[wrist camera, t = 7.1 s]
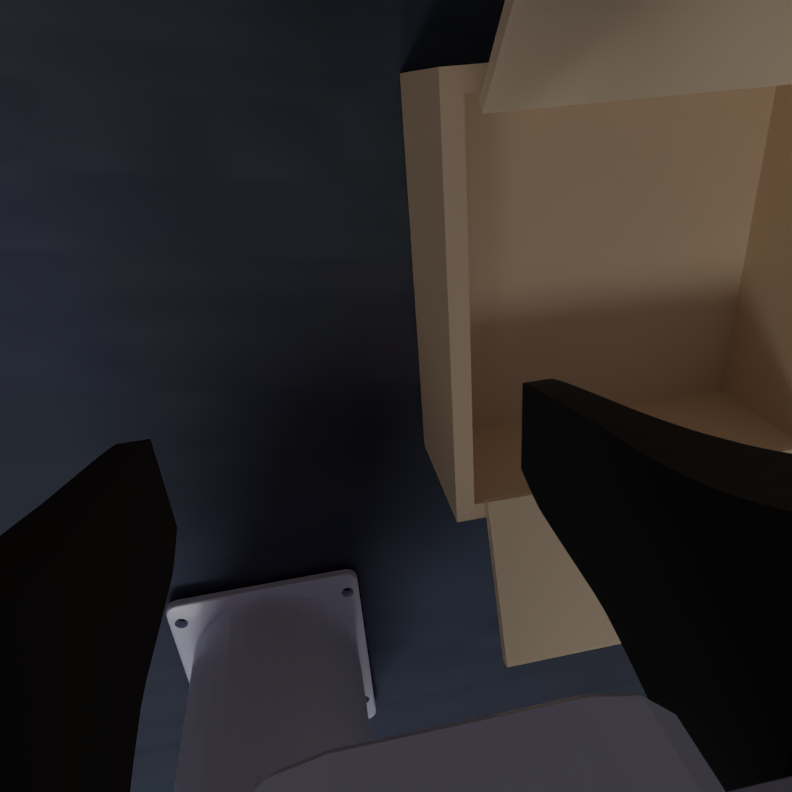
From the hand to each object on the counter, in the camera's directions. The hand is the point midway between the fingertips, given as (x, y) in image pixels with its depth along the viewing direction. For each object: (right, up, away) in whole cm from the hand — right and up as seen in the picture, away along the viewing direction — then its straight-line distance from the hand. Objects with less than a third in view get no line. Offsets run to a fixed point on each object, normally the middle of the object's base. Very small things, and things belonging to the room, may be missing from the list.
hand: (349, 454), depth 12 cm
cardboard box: (+8, +6, +10) cm, 14 cm away
